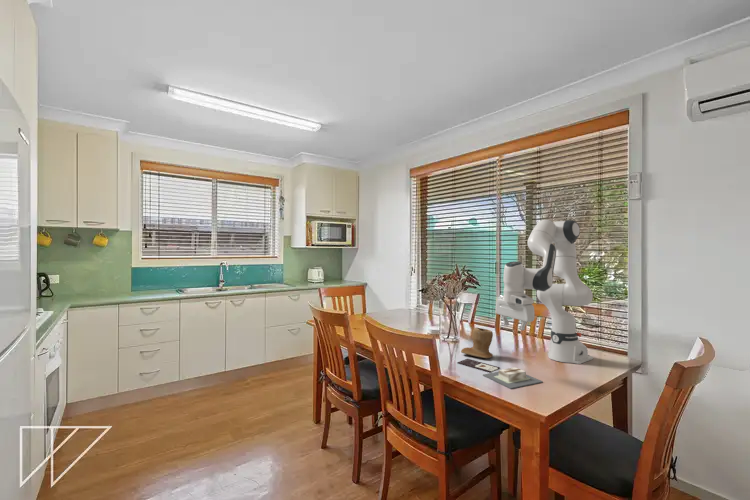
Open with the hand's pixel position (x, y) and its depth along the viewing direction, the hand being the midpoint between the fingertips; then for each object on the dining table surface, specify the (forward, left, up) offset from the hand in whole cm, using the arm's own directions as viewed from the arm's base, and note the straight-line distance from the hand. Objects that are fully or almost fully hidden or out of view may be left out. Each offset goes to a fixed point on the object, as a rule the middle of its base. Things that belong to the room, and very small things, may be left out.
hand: (514, 327), depth 165 cm
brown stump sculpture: (-4, -29, -22) cm, 36 cm away
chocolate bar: (+7, -16, -22) cm, 28 cm away
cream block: (+5, +4, -21) cm, 22 cm away
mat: (+5, +4, -22) cm, 22 cm away
